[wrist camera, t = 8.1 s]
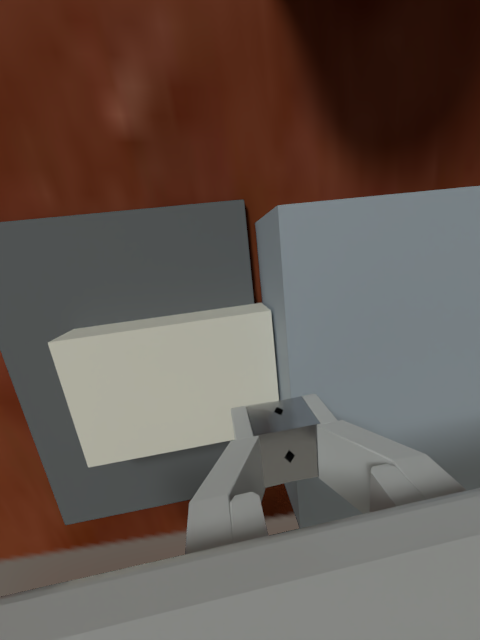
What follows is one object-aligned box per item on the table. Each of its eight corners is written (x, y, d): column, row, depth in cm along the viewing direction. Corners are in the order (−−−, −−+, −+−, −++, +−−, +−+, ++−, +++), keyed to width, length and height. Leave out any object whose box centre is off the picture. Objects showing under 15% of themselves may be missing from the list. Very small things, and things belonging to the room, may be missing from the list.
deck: (607, 186, 14) (759, 158, 10) (556, 407, 17) (656, 448, 14) (255, 222, 12) (277, 205, 8) (277, 462, 15) (300, 529, 12)
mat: (242, 201, 12) (243, 199, 11) (270, 477, 16) (272, 482, 15) (-37, 227, 11) (-46, 226, 10) (69, 518, 15) (65, 525, 14)
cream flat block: (261, 302, 13) (271, 310, 11) (271, 407, 14) (281, 430, 12) (73, 328, 12) (47, 342, 10) (105, 437, 13) (88, 467, 11)
